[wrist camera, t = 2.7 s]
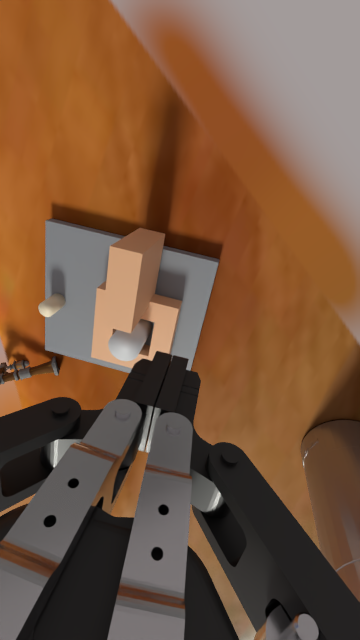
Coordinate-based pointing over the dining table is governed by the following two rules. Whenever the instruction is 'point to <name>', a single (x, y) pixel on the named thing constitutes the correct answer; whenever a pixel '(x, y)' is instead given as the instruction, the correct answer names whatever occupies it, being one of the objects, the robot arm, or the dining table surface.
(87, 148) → the dining table surface
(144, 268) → the peach open lidded box
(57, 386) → the dining table surface
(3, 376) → the wooden post with brackets
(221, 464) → the robot arm
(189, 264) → the post base
